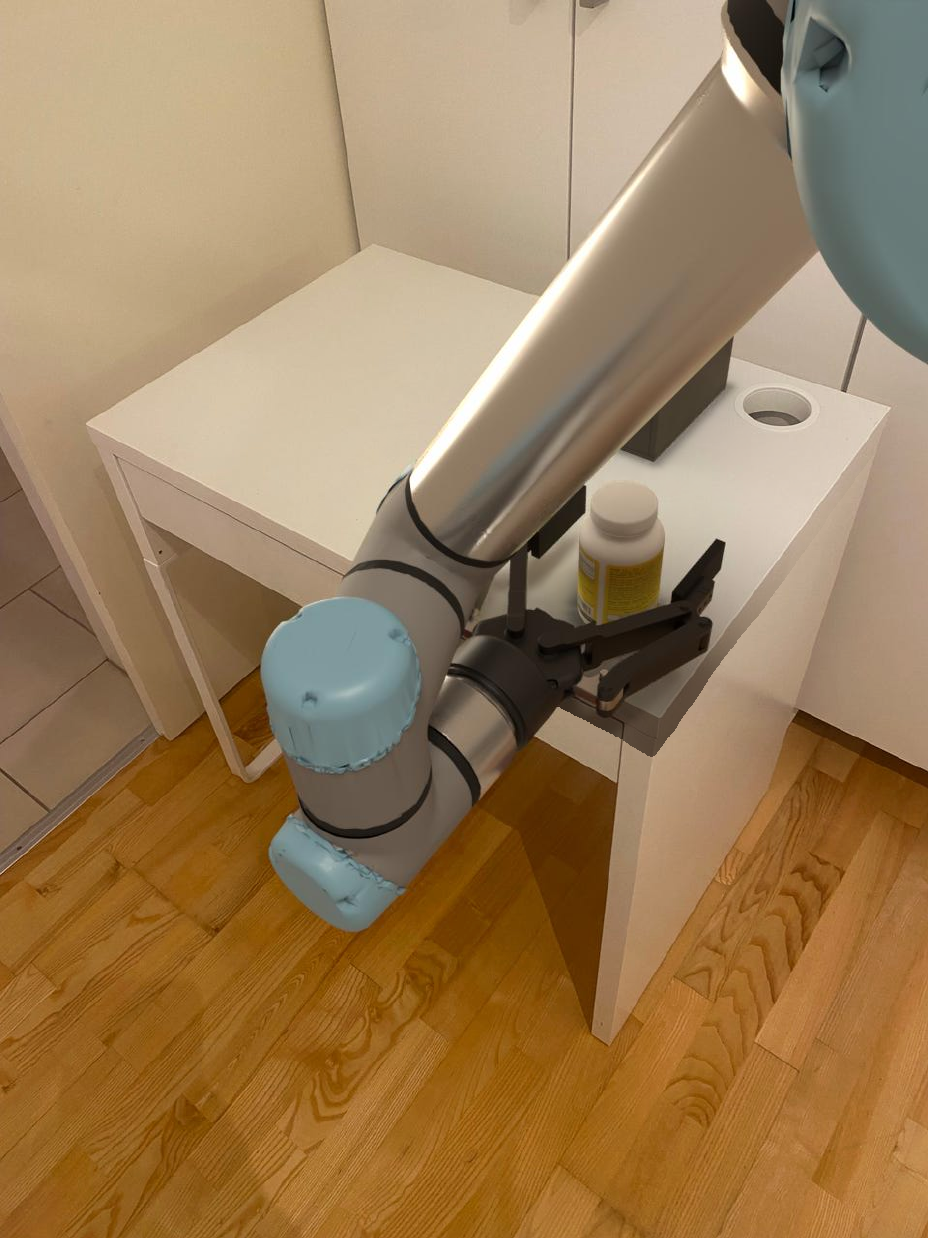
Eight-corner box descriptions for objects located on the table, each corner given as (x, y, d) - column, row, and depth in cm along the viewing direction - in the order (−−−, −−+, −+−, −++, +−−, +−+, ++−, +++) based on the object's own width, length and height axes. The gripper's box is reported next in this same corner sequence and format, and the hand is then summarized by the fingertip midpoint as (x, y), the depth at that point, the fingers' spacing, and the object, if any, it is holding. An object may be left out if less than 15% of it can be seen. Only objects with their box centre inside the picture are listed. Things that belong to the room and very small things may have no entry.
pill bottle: (669, 599, 75) (684, 489, 67) (635, 650, 72) (646, 541, 64) (598, 572, 78) (604, 463, 70) (562, 621, 74) (564, 512, 66)
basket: (726, 387, 94) (735, 327, 90) (653, 461, 87) (659, 401, 82) (602, 347, 101) (605, 289, 96) (525, 413, 94) (524, 354, 89)
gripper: (348, 672, 69) (521, 507, 81) (631, 838, 59) (785, 621, 70) (330, 600, 64) (519, 434, 75) (639, 768, 53) (805, 545, 64)
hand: (647, 524), depth 72 cm, fingers open, 11 cm apart
